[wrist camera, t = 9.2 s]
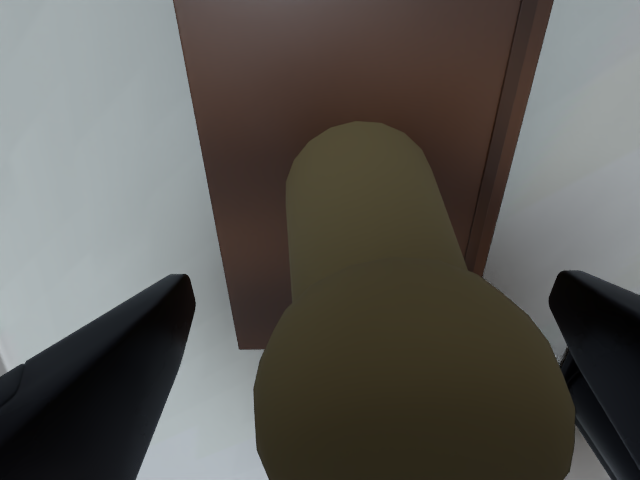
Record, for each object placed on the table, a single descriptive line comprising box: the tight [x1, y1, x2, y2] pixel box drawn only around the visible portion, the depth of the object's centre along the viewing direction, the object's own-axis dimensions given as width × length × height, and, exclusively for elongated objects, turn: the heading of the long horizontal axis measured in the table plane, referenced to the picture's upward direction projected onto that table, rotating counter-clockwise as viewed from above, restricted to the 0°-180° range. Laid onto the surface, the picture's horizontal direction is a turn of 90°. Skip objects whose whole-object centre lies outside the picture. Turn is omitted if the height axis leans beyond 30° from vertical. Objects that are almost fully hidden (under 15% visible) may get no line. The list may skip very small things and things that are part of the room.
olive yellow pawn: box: [253, 121, 575, 480], centre depth 10 cm, size 6×6×11 cm
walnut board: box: [173, 0, 554, 350], centre depth 15 cm, size 18×12×2 cm, turn 1°
